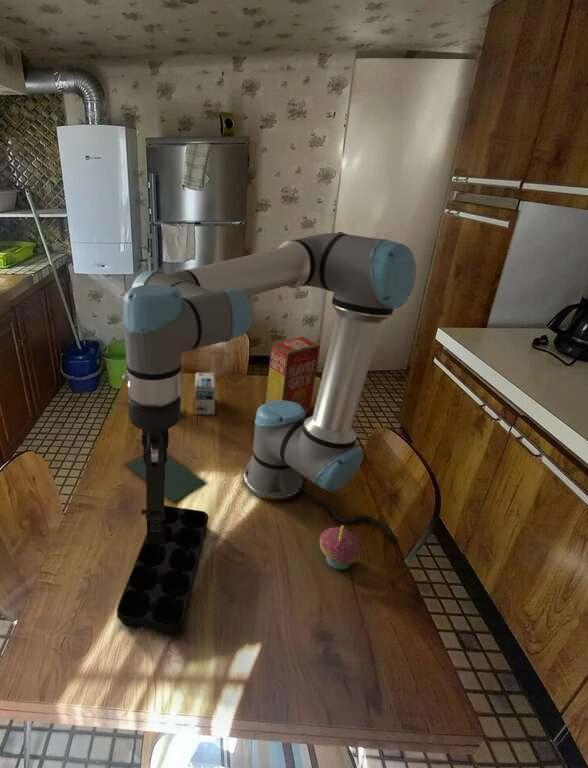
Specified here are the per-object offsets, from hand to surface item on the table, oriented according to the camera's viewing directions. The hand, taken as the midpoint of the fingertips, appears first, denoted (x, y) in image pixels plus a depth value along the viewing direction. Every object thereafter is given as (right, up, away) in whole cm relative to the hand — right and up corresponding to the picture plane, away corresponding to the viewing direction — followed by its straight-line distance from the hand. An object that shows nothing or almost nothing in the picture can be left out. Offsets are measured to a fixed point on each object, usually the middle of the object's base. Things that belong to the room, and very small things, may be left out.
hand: (156, 509), depth 71 cm
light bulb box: (+9, +9, +80) cm, 81 cm away
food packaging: (+37, +8, +78) cm, 87 cm away
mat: (-2, -6, +47) cm, 48 cm away
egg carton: (+1, -19, +20) cm, 28 cm away
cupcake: (+37, -18, +22) cm, 47 cm away
